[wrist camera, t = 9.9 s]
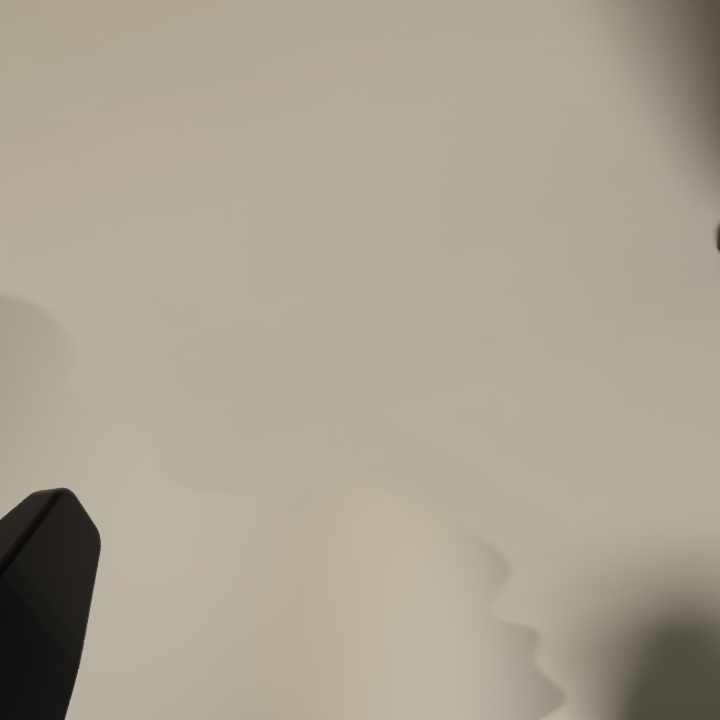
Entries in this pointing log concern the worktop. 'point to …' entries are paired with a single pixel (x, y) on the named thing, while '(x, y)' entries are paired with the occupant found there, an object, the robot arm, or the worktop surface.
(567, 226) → the worktop surface
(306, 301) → the worktop surface
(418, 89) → the worktop surface
